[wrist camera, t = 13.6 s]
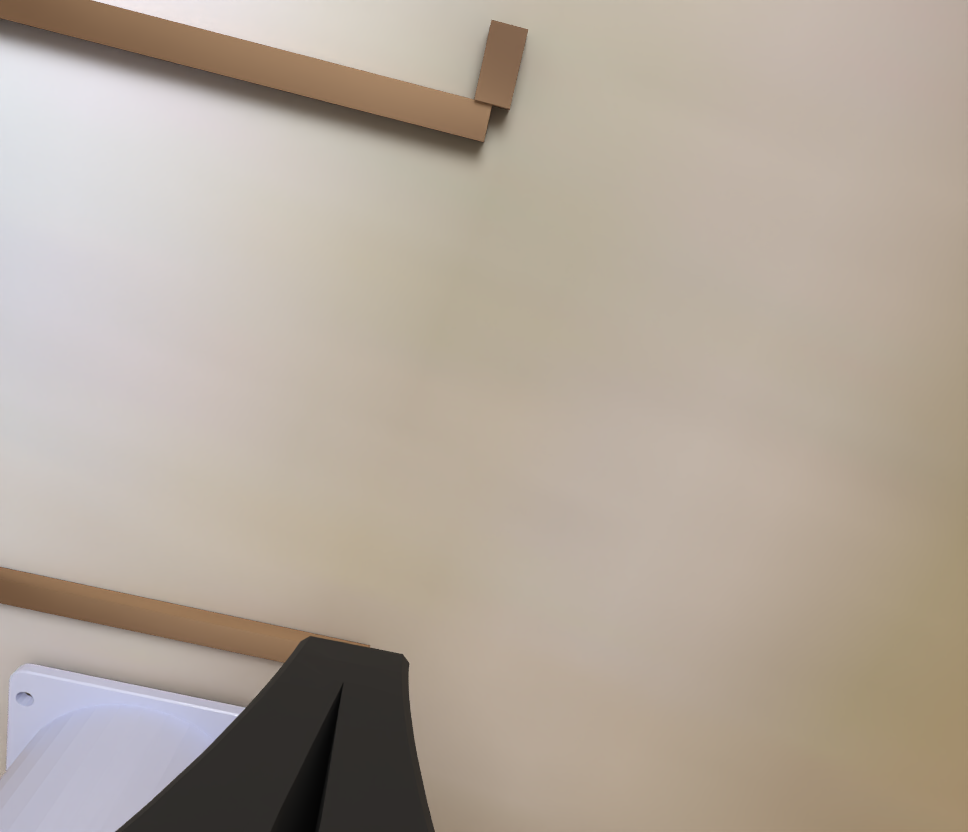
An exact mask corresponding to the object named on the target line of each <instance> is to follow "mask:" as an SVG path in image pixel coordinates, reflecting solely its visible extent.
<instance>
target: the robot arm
mask: <svg viewBox="0 0 968 832" xmlns="http://www.w3.org/2000/svg"><path fill="white" fill-rule="evenodd" d="M408 672H409V662H408V661H407V660H406V658H405V657H404V655H403V654H399V653H394V652H389V651H384V650H379V649H374V648H369V647H364V646H359V645H354V644H349V643H344V642H339V641H334V640H329V639H324V638H319V637H314V636H309V637H307V638H306V639H304V640H302V641H300V643H299V644H298V645H297V647H296V648H295V650H294V651H293V653H292V654H291V655H290V657H289V658H288V659H287V660H286V662H285V663H284V664H283V666H282V667H281V668H280V669H279V670H278V672H277V673H276V674H275V675H274V677H273V678H272V679H271V680H270V681H269V682H268V684H267V685H266V686H265V687H264V688H263V689H262V690H261V692H260V693H259V694H258V695H257V696H256V697H255V698H254V699H253V701H252V702H251V703H250V704H249V705H248V706H247V707H246V708H245V707H240V706H235V705H231V704H226V703H221V702H216V701H211V700H206V699H201V698H196V697H192V696H187V695H182V694H177V693H172V692H167V691H162V690H157V689H153V688H148V687H143V686H138V685H133V684H128V683H123V682H118V681H114V680H109V679H104V678H99V677H94V676H89V675H84V674H79V673H75V672H70V671H65V670H60V669H55V668H50V667H45V666H40V665H36V664H24V665H21V666H20V667H19V668H17V669H16V671H15V672H14V673H13V674H12V675H11V676H10V679H9V697H8V726H7V756H6V772H5V773H4V775H3V776H2V777H1V778H0V832H435V831H434V827H433V823H432V819H431V815H430V811H429V807H428V804H427V799H426V795H425V790H424V785H423V781H422V776H421V771H420V767H419V762H418V757H417V752H416V746H415V740H414V734H413V727H412V719H411V712H410V701H409V686H408ZM25 692H27V693H29V694H30V695H31V696H32V697H31V696H29V695H27V694H26V693H25Z"/></svg>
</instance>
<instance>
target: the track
mask: <svg viewBox="0 0 968 832" xmlns="http://www.w3.org/2000/svg"><path fill="white" fill-rule="evenodd" d="M0 18H1V19H5V20H9V21H13V22H17V23H21V24H25V25H29V26H33V27H37V28H40V29H44V30H48V31H52V32H56V33H60V34H64V35H68V36H72V37H76V38H79V39H83V40H87V41H91V42H95V43H99V44H103V45H107V46H111V47H115V48H118V49H122V50H126V51H130V52H134V53H138V54H142V55H146V56H150V57H154V58H157V59H161V60H165V61H169V62H173V63H177V64H181V65H185V66H189V67H193V68H197V69H200V70H204V71H208V72H212V73H216V74H220V75H224V76H228V77H232V78H236V79H239V80H243V81H247V82H251V83H255V84H259V85H263V86H267V87H271V88H275V89H278V90H282V91H286V92H290V93H294V94H298V95H302V96H306V97H310V98H314V99H317V100H321V101H325V102H329V103H333V104H337V105H341V106H345V107H349V108H353V109H356V110H360V111H364V112H368V113H372V114H376V115H380V116H384V117H388V118H392V119H395V120H399V121H403V122H407V123H411V124H415V125H419V126H423V127H427V128H431V129H435V130H438V131H442V132H446V133H450V134H454V135H458V136H462V137H466V138H470V139H474V140H477V141H481V142H484V140H485V135H486V131H487V127H488V122H489V118H490V113H491V109H492V106H496V107H499V108H503V109H507V110H510V105H511V101H512V97H513V93H514V88H515V84H516V80H517V75H518V71H519V67H520V63H521V58H522V54H523V50H524V46H525V41H526V37H527V33H528V29H524V28H520V27H517V26H513V25H509V24H505V23H502V22H498V21H494V20H491V25H490V30H489V34H488V39H487V43H486V48H485V52H484V57H483V62H482V66H481V71H480V75H479V80H478V85H477V89H476V94H475V98H474V100H473V99H470V98H466V97H462V96H458V95H454V94H450V93H446V92H443V91H439V90H435V89H431V88H427V87H423V86H419V85H416V84H412V83H408V82H404V81H400V80H396V79H393V78H389V77H385V76H381V75H377V74H373V73H369V72H366V71H362V70H358V69H354V68H350V67H346V66H342V65H339V64H335V63H331V62H327V61H323V60H319V59H315V58H312V57H308V56H304V55H300V54H296V53H292V52H289V51H285V50H281V49H277V48H273V47H269V46H265V45H262V44H258V43H254V42H250V41H246V40H242V39H238V38H235V37H231V36H227V35H223V34H219V33H215V32H211V31H208V30H204V29H200V28H196V27H192V26H188V25H185V24H181V23H177V22H173V21H169V20H165V19H161V18H158V17H154V16H150V15H146V14H142V13H138V12H134V11H131V10H127V9H123V8H119V7H115V6H111V5H107V4H104V3H100V2H96V1H92V0H0ZM0 603H2V604H7V605H12V606H17V607H21V608H26V609H31V610H36V611H40V612H45V613H50V614H55V615H59V616H64V617H69V618H74V619H79V620H83V621H88V622H93V623H98V624H102V625H107V626H112V627H117V628H122V629H126V630H131V631H136V632H141V633H145V634H150V635H155V636H160V637H164V638H169V639H174V640H179V641H184V642H188V643H193V644H198V645H203V646H207V647H212V648H217V649H222V650H227V651H231V652H236V653H241V654H246V655H250V656H255V657H260V658H265V659H270V660H274V661H279V662H284V663H285V662H286V660H287V659H288V658H289V657H290V655H291V654H292V653H293V651H294V650H295V648H296V647H297V645H298V644H299V643H300V641H302V640H304V639H306V638H307V637H309V636H314V637H319V638H324V639H329V640H334V641H339V642H344V643H349V644H354V645H359V646H364V647H369V648H370V645H365V644H360V643H355V642H351V641H346V640H341V639H337V638H332V637H327V636H322V635H318V634H313V633H308V632H304V631H299V630H294V629H289V628H285V627H280V626H275V625H271V624H266V623H261V622H257V621H252V620H247V619H242V618H238V617H233V616H228V615H224V614H219V613H214V612H209V611H205V610H200V609H195V608H191V607H186V606H181V605H176V604H172V603H167V602H162V601H158V600H153V599H148V598H144V597H139V596H134V595H129V594H125V593H120V592H115V591H111V590H106V589H101V588H96V587H92V586H87V585H82V584H78V583H73V582H68V581H63V580H59V579H54V578H49V577H45V576H40V575H35V574H31V573H26V572H21V571H16V570H12V569H7V568H2V567H0Z"/></svg>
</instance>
